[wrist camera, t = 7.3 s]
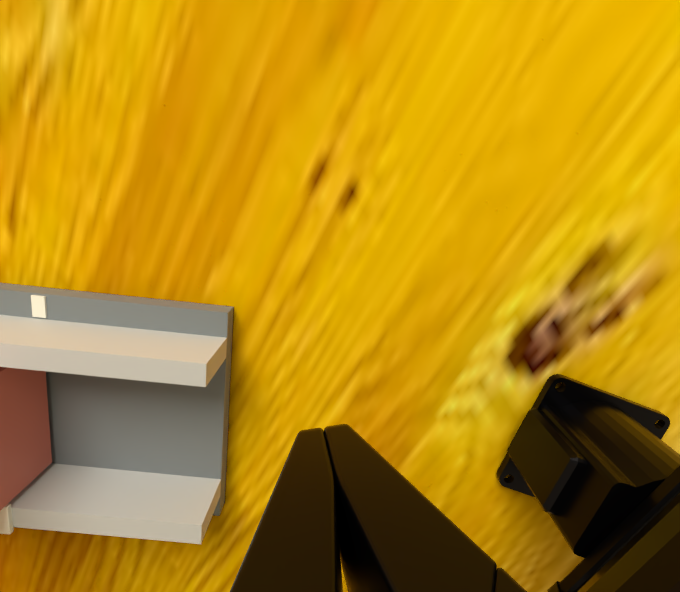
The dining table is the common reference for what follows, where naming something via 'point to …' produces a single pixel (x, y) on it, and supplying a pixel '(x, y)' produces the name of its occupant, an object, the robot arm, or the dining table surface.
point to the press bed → (123, 411)
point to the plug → (22, 430)
